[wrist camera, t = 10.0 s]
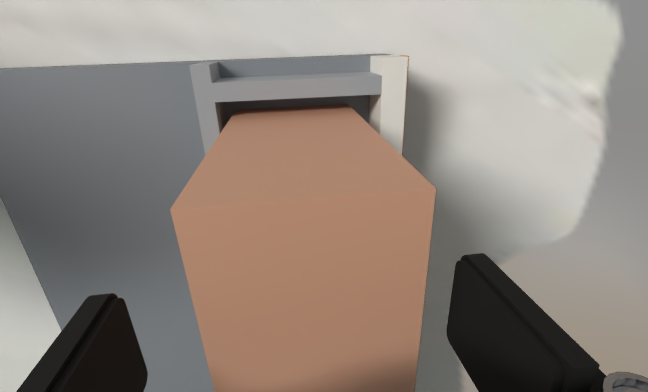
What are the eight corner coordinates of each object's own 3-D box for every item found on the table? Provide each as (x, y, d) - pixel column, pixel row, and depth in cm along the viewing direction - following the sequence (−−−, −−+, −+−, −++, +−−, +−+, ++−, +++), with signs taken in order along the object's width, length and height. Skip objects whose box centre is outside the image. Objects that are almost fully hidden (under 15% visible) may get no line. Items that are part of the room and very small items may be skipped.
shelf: (374, 375, 26) (388, 422, 22) (116, 407, 24) (91, 462, 21) (388, 53, 17) (413, 56, 13) (-26, 69, 15) (-109, 77, 12)
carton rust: (349, 251, 19) (411, 442, 10) (256, 260, 19) (233, 468, 10) (348, 103, 16) (438, 187, 7) (235, 109, 15) (170, 209, 6)
